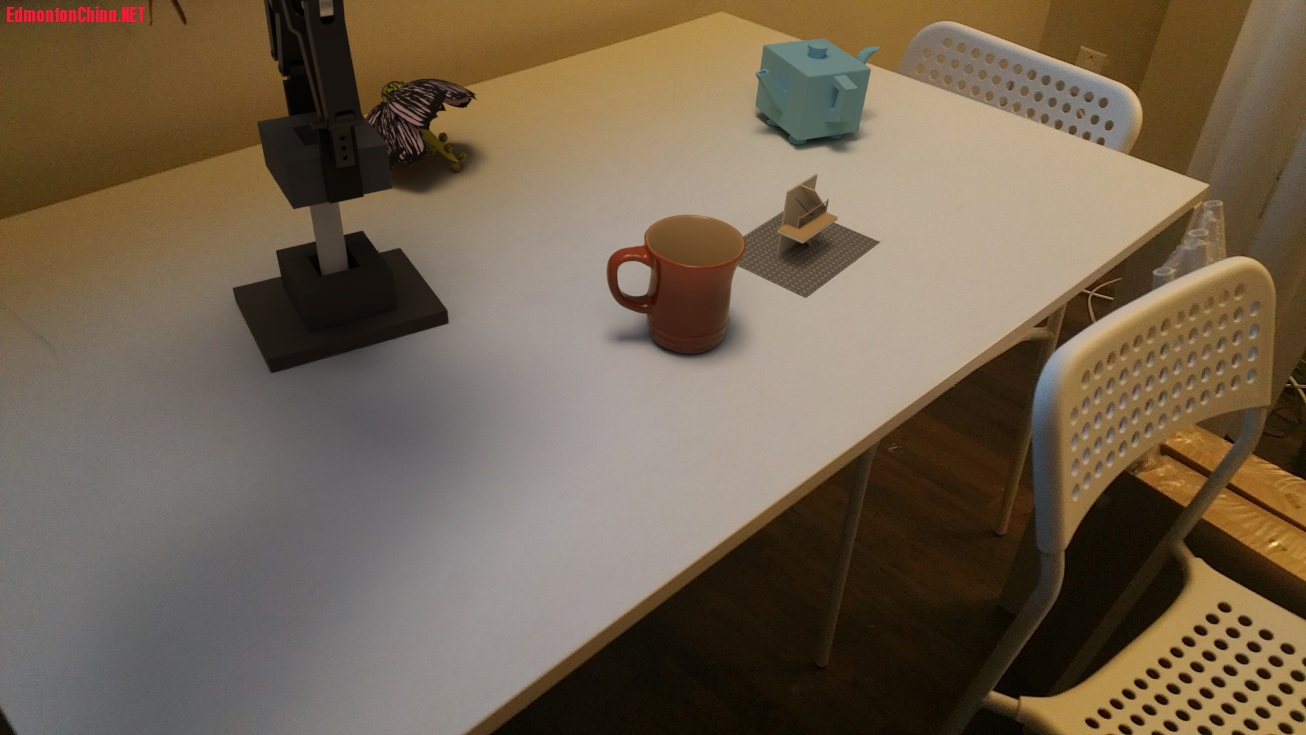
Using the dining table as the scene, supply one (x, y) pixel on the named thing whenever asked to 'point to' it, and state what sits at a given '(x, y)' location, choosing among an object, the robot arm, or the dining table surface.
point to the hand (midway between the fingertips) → (328, 174)
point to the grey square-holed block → (317, 158)
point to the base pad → (294, 345)
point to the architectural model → (802, 243)
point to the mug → (683, 280)
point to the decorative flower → (416, 118)
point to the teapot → (813, 88)
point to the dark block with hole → (337, 284)
